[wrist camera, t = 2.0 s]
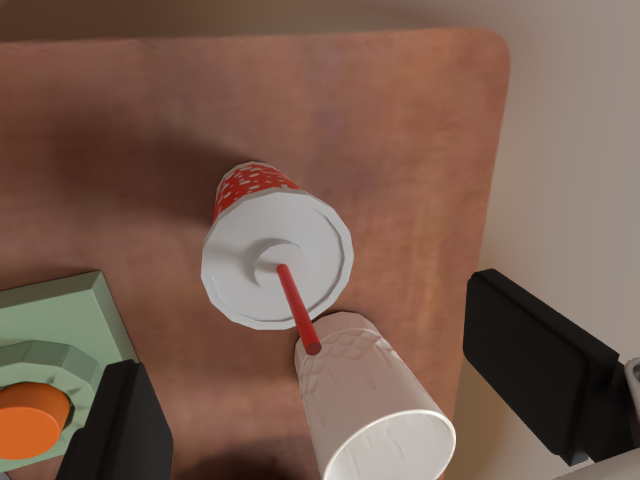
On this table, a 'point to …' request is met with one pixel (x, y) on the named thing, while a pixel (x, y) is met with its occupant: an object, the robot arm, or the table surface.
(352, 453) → the white cup
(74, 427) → the brew pad
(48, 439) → the button
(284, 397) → the table surface
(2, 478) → the coffee maker
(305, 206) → the beverage cup
